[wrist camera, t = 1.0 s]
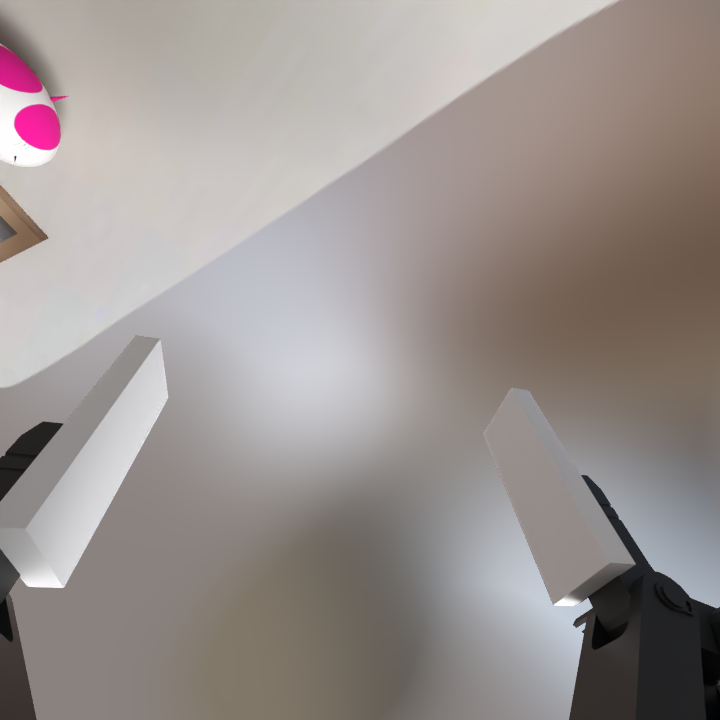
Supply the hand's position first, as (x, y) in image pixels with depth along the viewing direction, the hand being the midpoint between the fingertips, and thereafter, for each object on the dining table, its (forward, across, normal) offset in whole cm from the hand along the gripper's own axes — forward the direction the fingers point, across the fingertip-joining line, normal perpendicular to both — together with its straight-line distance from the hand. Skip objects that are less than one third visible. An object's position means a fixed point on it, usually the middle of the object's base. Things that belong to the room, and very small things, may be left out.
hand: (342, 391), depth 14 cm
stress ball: (+25, -23, +4) cm, 34 cm away
